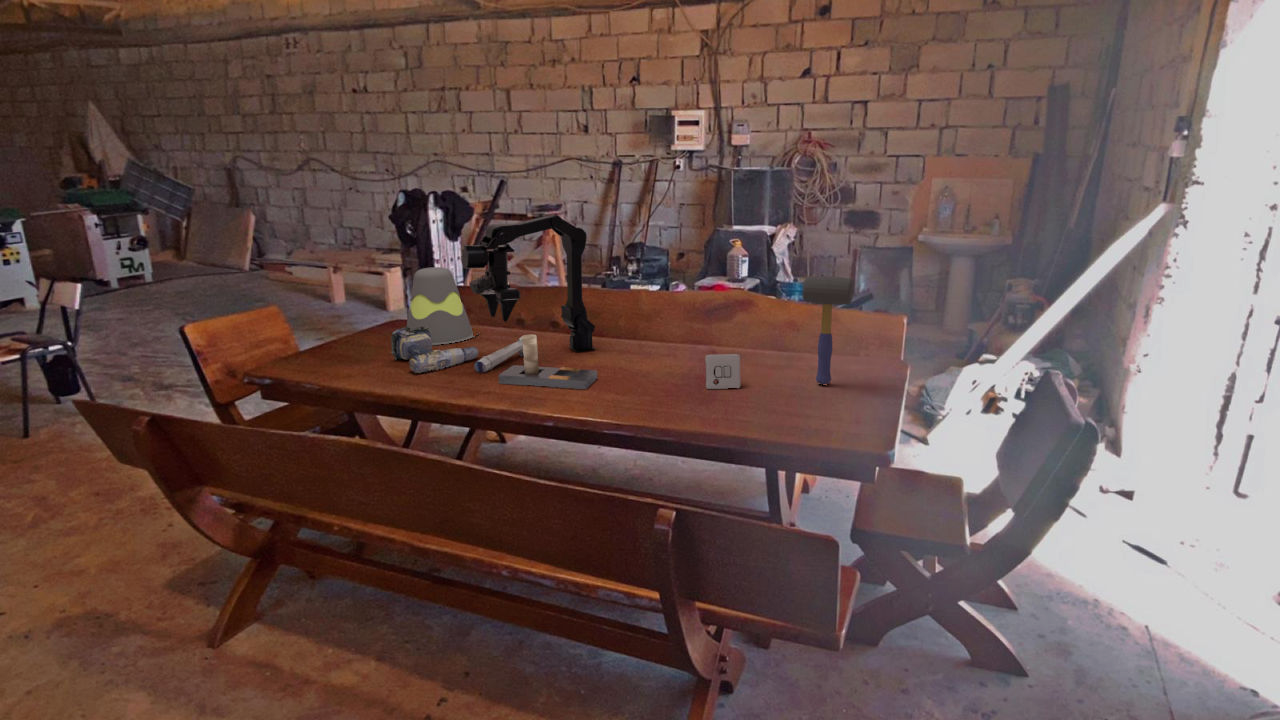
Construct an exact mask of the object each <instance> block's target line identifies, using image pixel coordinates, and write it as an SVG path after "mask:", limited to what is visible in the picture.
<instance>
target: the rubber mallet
mask: <svg viewBox="0 0 1280 720" xmlns="http://www.w3.org/2000/svg"><path fill="white" fill-rule="evenodd" d="M853 294H854V281H853V279H852V278H848V277H839V276H832V275H831V276H830V275H829V276H828V275H815V276H811V275H810V276H806V277H805V278H804V281H803V287H802V300H803V301H804V302H806V303H812V304H819V305H820V304H821V305H822V311H821V328H820V333H819V337H818V344H817V358H818V363H817V373H816V375H815V381H816V383H817V384H818V383H820V384H828V383H829V384H831V381H832V376H831V375H832V374H831V364H832V363H831V361H832V354H833V335H832V320H833V319H832V315H833V305H836V306H837V305H840V306H841V305H842V306H843V305H850V304H851V303H852V300H853Z"/></svg>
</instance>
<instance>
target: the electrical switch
mask: <svg viewBox="0 0 1280 720" xmlns="http://www.w3.org/2000/svg"><path fill="white" fill-rule="evenodd" d="M704 357H705V360H704V361H705V381H706V382H705V387H706V389H707V390H726V389H727V390H729V389H728V388H737V389H740V387H741V357H740V355H739V354H737V353H736V354H735V353H733V354H730V353H729V354H707V355H706V356H704ZM715 381H717V382H716V383H715Z"/></svg>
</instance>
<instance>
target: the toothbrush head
mask: <svg viewBox="0 0 1280 720" xmlns="http://www.w3.org/2000/svg"><path fill="white" fill-rule="evenodd" d="M516 354H518V355H519V356H520V357H523V341H522V336H520V337H519V339H518V340H517V341H515V342H513V343H511V344H509V345H507V346H505V347H503V348H501V349H498V350H497V351H494V352H491V353H490V354H489V355H484V356H482V358H480V359H478V360H477V361H476V362H475V363H474V364H473V365H474V369H475V371H476V372H477V373H480V372H481V374H484V373H485V372H488V371H491V370H493V368H495V367H496V366H498V365H499V364H501V363H503V362H504V361H506V360H508V359H509V358H511V357H513V356H514V355H516Z"/></svg>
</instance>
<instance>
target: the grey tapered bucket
mask: <svg viewBox="0 0 1280 720" xmlns="http://www.w3.org/2000/svg"><path fill="white" fill-rule="evenodd" d="M457 286H458V285H457V284H456V281H455V278H454V276H453V273H452V271H451V270H450V269H449V268H447V267H439V266H438V267H437V266H436V267H435V266H433V267H425V268H424V267H423V268H420V269H419V270H417V271H416V272H415V273H414V276H413V282H412V289H411V296H410V306H409V308H408V315H407V322H406V327H407V326H409V328H411V329H413V330H414V329H416V328H417V327H428V329H430V332H429V333H430V334H431V337H432V346H442V345H441V344H444V345H450V344H449V343H452V344H456V343H455V342H458V343H461V342H460V341H462V342H465V341H464V340H466V341H468V340H467V339H469V340H471V339H470V338H472V337H474V338H476V337H475V336H473V331H472V328H473V327H472V326H471V322H470V320H469V317H468V314H467V311H466V309H465V306H464V303H463V302H462V301H461V300H462V299H461V294H460V292H459V289H458V287H457ZM477 335H478V334H477ZM478 336H479V335H478ZM472 339H473V338H472Z"/></svg>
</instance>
